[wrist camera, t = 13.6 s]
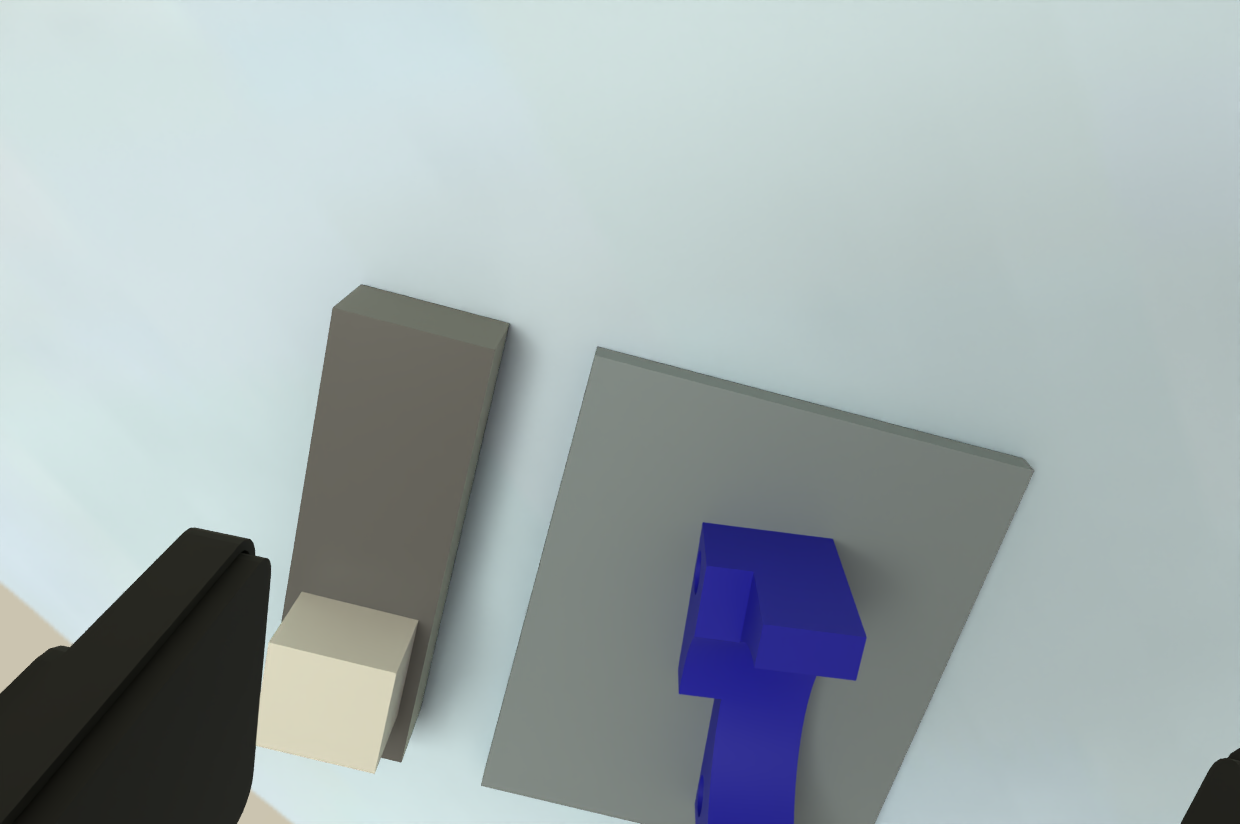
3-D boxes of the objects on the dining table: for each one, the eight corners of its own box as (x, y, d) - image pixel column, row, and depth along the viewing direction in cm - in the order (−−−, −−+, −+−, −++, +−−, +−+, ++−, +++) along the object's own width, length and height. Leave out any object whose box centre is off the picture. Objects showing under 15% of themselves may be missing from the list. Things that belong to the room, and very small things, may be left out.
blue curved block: (702, 522, 34) (711, 617, 29) (832, 538, 34) (866, 637, 29) (656, 798, 38) (655, 929, 33) (771, 813, 38) (790, 946, 33)
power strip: (509, 323, 33) (478, 382, 27) (420, 709, 39) (379, 824, 33) (361, 284, 33) (298, 335, 27) (292, 679, 38) (229, 789, 33)
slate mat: (1023, 459, 34) (1034, 470, 33) (847, 854, 40) (851, 873, 39) (597, 346, 33) (595, 355, 32) (485, 767, 39) (481, 785, 38)
